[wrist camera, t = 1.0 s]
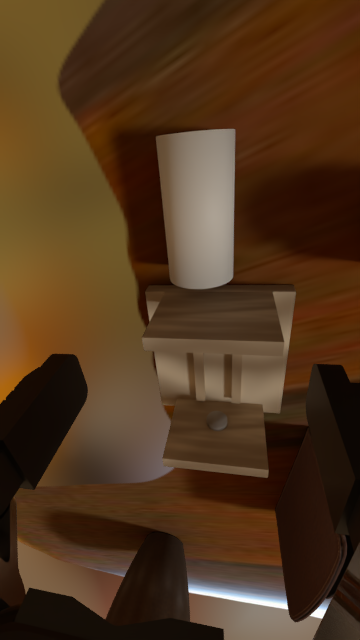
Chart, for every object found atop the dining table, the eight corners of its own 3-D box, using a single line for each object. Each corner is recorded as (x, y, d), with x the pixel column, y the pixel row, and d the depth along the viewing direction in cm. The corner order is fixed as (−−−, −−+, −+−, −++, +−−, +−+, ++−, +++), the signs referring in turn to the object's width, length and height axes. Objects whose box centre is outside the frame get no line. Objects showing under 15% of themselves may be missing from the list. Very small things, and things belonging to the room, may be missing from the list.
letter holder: (274, 507, 46) (287, 632, 35) (307, 424, 36) (341, 561, 24) (340, 520, 45) (377, 654, 33) (393, 437, 35) (474, 589, 23)
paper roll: (169, 136, 23) (143, 134, 19) (239, 129, 22) (229, 125, 17) (179, 265, 29) (161, 288, 24) (236, 266, 27) (228, 291, 23)
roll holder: (149, 285, 30) (116, 336, 22) (293, 285, 27) (316, 343, 19) (164, 395, 38) (144, 463, 30) (278, 403, 35) (290, 480, 27)
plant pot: (140, 555, 64) (113, 665, 50) (118, 518, 57) (81, 635, 43) (207, 562, 60) (198, 683, 47) (192, 524, 53) (177, 653, 40)
